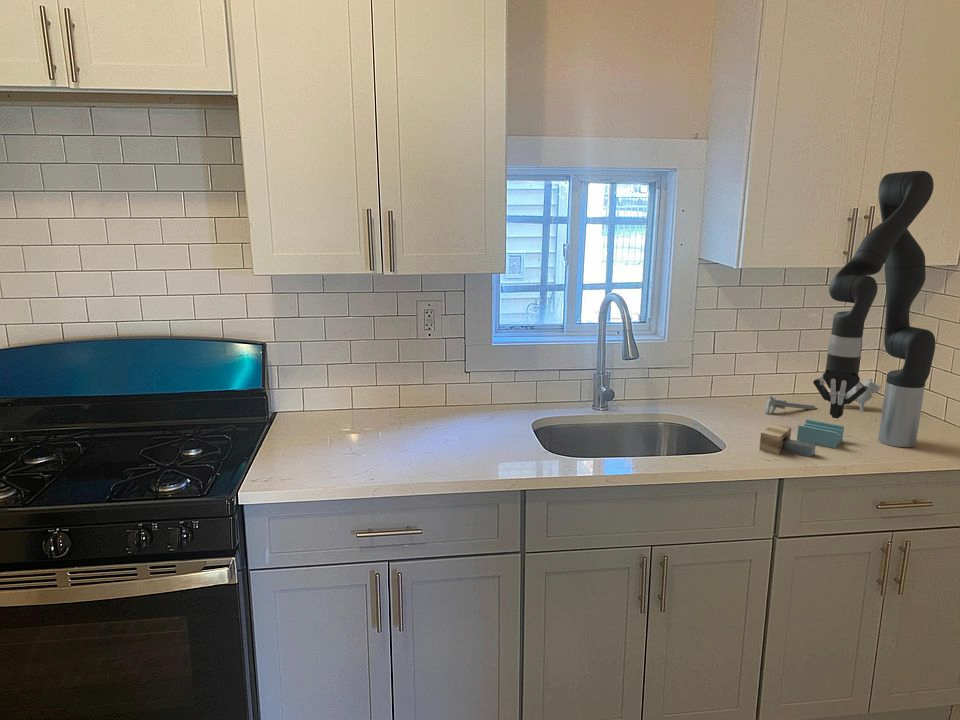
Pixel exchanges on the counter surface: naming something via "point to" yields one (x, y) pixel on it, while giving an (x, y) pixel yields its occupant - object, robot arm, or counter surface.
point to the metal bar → (798, 447)
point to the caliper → (784, 405)
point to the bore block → (774, 438)
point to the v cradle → (820, 433)
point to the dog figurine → (866, 395)
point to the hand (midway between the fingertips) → (835, 417)
